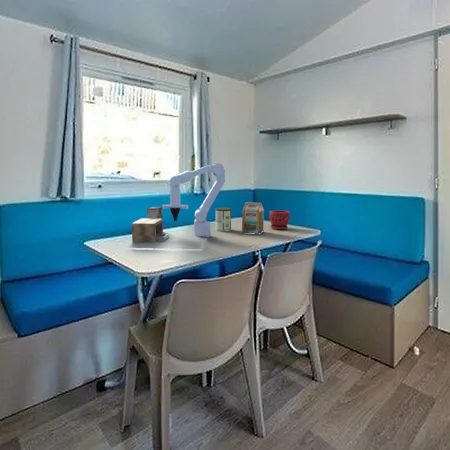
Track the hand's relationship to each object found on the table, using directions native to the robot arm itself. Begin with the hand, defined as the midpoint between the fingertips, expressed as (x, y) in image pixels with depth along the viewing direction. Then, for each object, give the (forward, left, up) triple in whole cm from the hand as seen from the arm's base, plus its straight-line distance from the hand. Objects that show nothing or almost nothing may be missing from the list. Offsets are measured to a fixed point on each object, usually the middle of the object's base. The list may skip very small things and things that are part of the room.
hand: (175, 221), depth 196 cm
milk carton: (-45, -18, -10) cm, 49 cm away
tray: (+9, +11, -9) cm, 17 cm away
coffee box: (+14, -8, -10) cm, 19 cm away
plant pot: (-63, -34, -10) cm, 72 cm away
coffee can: (-26, -26, -10) cm, 38 cm away
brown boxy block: (+13, +11, -9) cm, 19 cm away
